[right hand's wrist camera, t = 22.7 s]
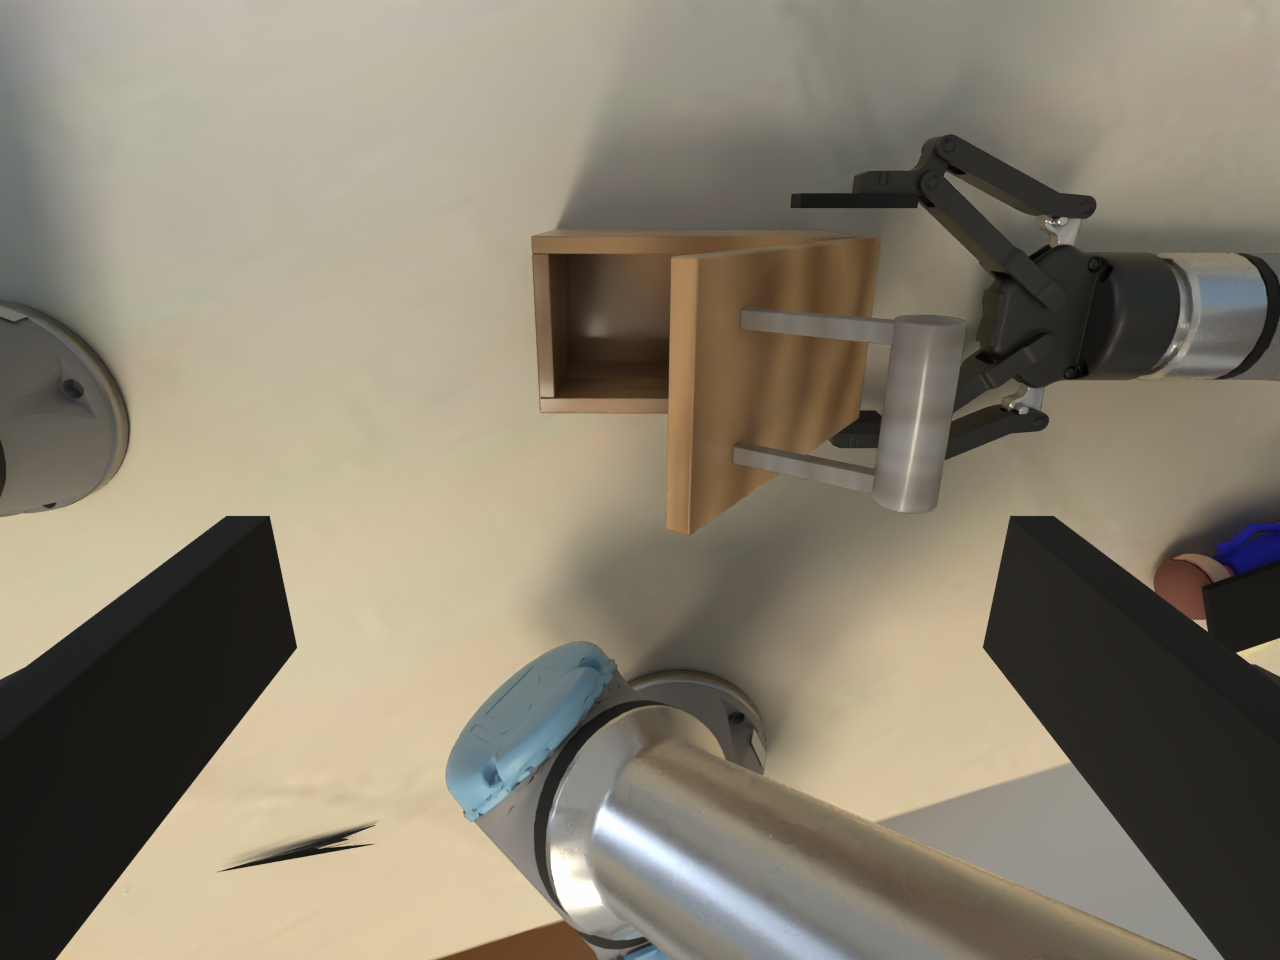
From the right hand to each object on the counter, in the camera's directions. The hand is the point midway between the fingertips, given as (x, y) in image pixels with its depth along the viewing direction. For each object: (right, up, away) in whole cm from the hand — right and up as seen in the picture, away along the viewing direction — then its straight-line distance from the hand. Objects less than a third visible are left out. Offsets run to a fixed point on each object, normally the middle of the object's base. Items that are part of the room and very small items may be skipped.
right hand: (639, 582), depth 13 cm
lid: (+6, +7, +18) cm, 21 cm away
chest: (+3, +14, +36) cm, 39 cm away
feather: (-37, -35, +55) cm, 75 cm away
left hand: (+9, +12, +30) cm, 33 cm away
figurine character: (+47, -3, +43) cm, 64 cm away
